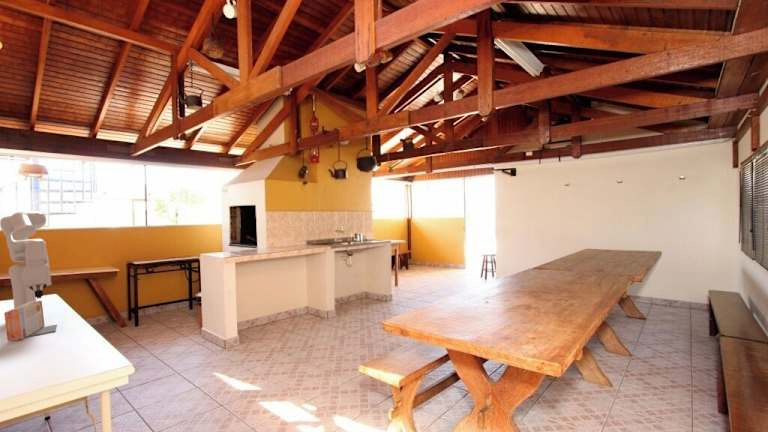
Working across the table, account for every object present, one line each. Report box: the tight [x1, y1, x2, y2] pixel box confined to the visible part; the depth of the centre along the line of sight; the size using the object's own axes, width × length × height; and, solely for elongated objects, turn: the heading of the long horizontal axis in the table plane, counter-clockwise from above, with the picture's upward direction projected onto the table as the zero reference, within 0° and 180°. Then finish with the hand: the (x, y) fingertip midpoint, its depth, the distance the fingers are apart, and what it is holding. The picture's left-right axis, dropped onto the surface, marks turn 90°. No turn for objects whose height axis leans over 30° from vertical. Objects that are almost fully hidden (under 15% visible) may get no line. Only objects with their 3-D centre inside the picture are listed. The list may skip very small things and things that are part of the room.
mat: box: [24, 324, 58, 339], centre depth 187 cm, size 14×12×1 cm
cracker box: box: [3, 300, 46, 342], centre depth 183 cm, size 14×6×21 cm
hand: (39, 297), depth 193 cm, fingers closed
